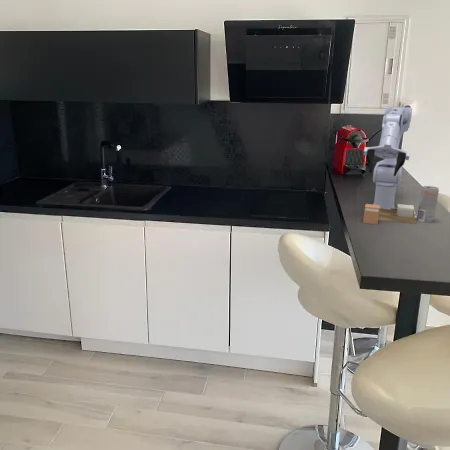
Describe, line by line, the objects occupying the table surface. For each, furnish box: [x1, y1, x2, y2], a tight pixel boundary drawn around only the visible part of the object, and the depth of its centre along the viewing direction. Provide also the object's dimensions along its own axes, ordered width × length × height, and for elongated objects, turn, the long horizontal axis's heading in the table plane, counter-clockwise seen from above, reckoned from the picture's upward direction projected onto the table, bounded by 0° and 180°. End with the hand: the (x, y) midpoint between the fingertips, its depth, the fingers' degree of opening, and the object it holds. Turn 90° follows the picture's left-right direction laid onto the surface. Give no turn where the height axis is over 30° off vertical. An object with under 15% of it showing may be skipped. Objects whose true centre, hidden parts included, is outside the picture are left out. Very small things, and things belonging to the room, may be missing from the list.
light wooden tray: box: [378, 207, 418, 225], centre depth 159 cm, size 9×14×3 cm, turn 70°
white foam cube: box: [396, 203, 415, 217], centre depth 157 cm, size 5×5×4 cm
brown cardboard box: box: [362, 203, 380, 225], centre depth 153 cm, size 5×5×6 cm
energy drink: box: [416, 185, 440, 224], centre depth 155 cm, size 5×5×12 cm
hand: (382, 172), depth 150 cm, fingers open, 7 cm apart
